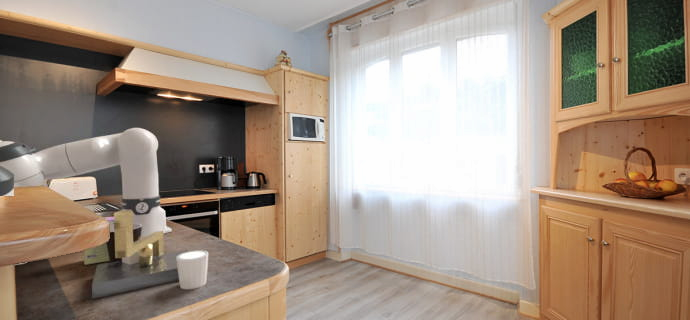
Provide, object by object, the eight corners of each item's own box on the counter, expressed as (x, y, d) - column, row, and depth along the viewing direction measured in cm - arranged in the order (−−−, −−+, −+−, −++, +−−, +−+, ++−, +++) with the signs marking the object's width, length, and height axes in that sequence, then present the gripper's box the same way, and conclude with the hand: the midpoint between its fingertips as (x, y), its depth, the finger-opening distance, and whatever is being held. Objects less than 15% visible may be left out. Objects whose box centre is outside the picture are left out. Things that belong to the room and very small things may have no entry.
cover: (122, 261, 80) (121, 250, 80) (138, 257, 83) (138, 245, 83) (130, 264, 78) (129, 252, 78) (147, 259, 81) (146, 248, 81)
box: (130, 252, 96) (128, 214, 96) (130, 257, 92) (129, 217, 91) (86, 259, 90) (84, 219, 90) (84, 265, 86) (82, 222, 85)
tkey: (154, 254, 85) (153, 200, 84) (166, 254, 85) (164, 200, 84) (114, 279, 69) (112, 212, 68) (128, 278, 69) (126, 212, 68)
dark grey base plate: (97, 276, 78) (97, 264, 78) (186, 260, 89) (186, 249, 89) (92, 298, 67) (91, 285, 66) (195, 276, 78) (195, 264, 78)
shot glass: (188, 293, 69) (187, 261, 69) (170, 286, 73) (170, 256, 72) (215, 281, 75) (214, 252, 75) (198, 275, 79) (197, 248, 78)
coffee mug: (123, 270, 82) (122, 232, 82) (96, 267, 84) (95, 230, 84) (158, 255, 94) (157, 222, 93) (134, 253, 95) (133, 220, 95)
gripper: (40, 239, 69) (117, 230, 77) (9, 268, 52) (112, 253, 60) (38, 211, 69) (116, 204, 77) (7, 231, 52) (111, 220, 60)
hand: (114, 226), depth 68 cm, fingers closed, pressing on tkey
